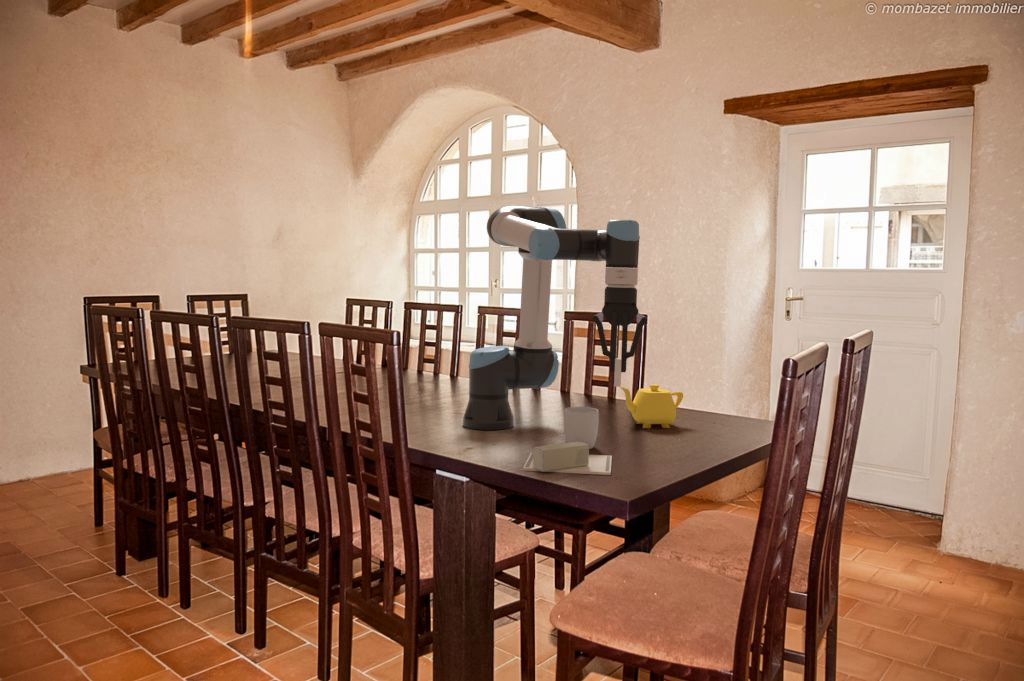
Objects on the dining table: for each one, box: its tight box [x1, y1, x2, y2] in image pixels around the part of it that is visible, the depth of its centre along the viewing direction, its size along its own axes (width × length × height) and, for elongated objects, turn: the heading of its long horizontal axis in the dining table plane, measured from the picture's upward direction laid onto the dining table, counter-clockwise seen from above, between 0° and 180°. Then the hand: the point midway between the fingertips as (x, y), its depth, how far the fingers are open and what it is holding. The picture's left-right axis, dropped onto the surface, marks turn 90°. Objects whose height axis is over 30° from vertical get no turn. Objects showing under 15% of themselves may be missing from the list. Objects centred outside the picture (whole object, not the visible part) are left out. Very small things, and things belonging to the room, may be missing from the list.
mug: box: [563, 406, 600, 450], centre depth 196 cm, size 13×9×10 cm
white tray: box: [522, 451, 613, 476], centre depth 177 cm, size 16×20×1 cm
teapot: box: [619, 383, 684, 429], centre depth 225 cm, size 13×20×12 cm
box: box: [533, 442, 590, 473], centre depth 172 cm, size 5×4×13 cm
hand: (617, 385), depth 177 cm, fingers closed
